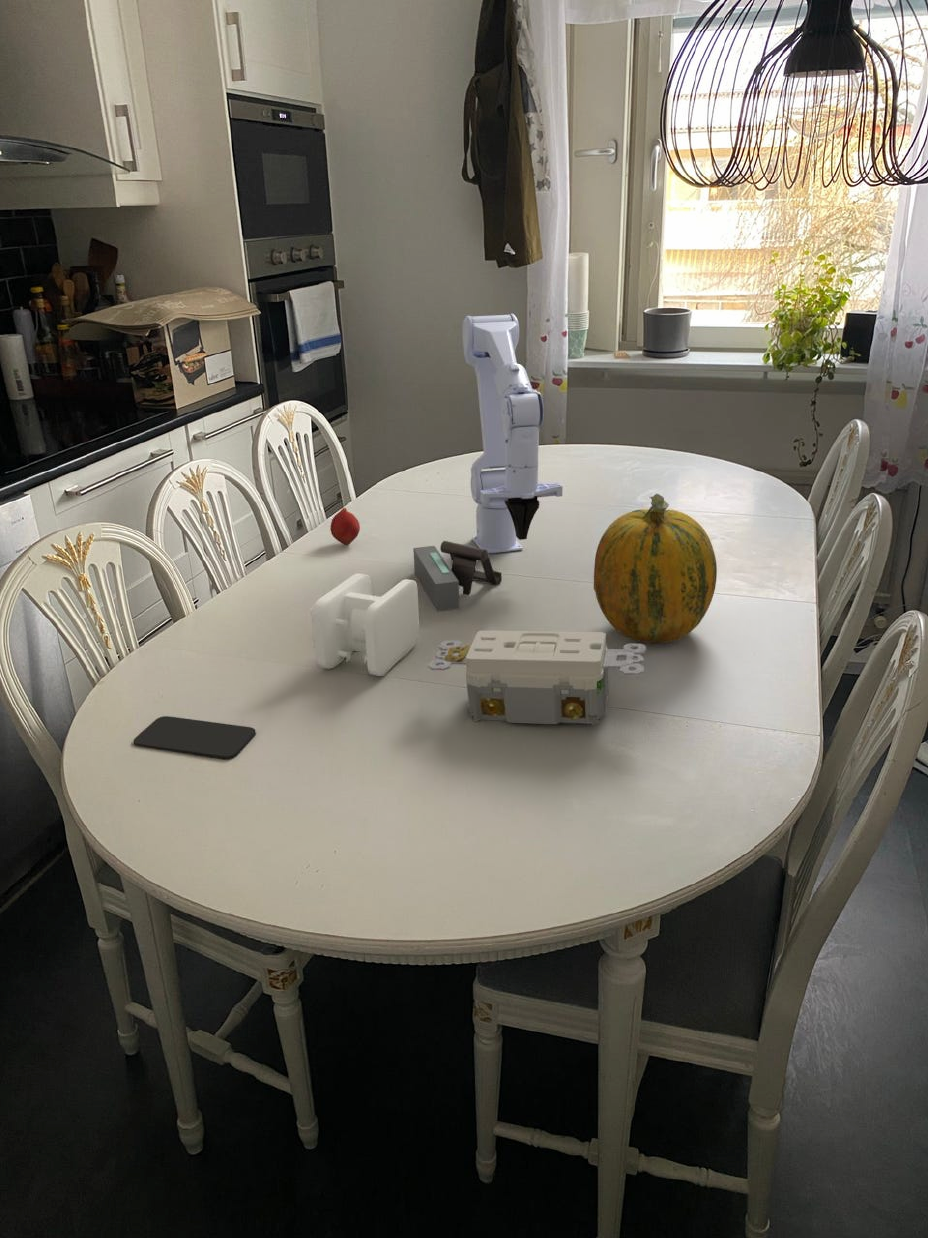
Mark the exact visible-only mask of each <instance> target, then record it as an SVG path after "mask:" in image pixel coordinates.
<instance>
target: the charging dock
mask: <svg viewBox="0 0 928 1238" xmlns="http://www.w3.org/2000/svg"><path fill="white" fill-rule="evenodd" d="M412 551H413V567H414V568H413V571H414V575H415V577H416V578H417V580H418V582H419V584H420V585H421V587H422V589H423V590H424V592H425V594H426V595H427V597H428V598H429V601H430V602H431V604H432V605H433V606H432V607H435V608H434V609H435V611H436V612H440V611H449V610H458V609H460V586H459V581H458V580H457V578H456V577H455V575H454V574H453V572H452V571H451V568H450V566H449V564H448V563H447V562H446V560H445V558H444V557H443V556H442V555H441V553H440V551H439V550H438V549H437V547H436V546H435V545H428V546H421V547H420V546H419V547H413V550H412Z"/></svg>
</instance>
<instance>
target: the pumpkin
mask: <svg viewBox="0 0 928 1238" xmlns="http://www.w3.org/2000/svg"><path fill="white" fill-rule="evenodd" d="M649 498H650V499H651V502H650V505H651V506H650V507H649V508H642V509H637V510H631V511H632V512H630V511H629V512H627V513H625V514H622V515H621V516H619V517H618V518H616V519H615V520H614V521H613V522H611V524H610V525H609V526H608V527H607V528H606V530H605V531H604V533H603V534H602V536H601V538H600V540H599V543H598V545H597V548H596V552H595V557H594V566H593V567H594V569H593V589H594V592H595V597H596V600H597V603H598V606H599V608H600V610H601V612H602V614H603V616H604V617H605V618H606V620H607V622H608V623H609V624H610V625H611V626H612V627H613V629H615V630H616V631H617V632H619V633H620V635H623V636H624V637H626V638H628V639H631V640H633V641H637V642H643V643H649V644H651V643H653V644H665V643H666V644H667V643H670V642H674V641H677V640H679V639H681V638H684V637H685V636H687V635H689V634H690V633H691V632H692V631H693V630H695V629H696V628H697V626H699V624H700V623H701V622H702V621H703V619H704V617H705V616H706V614H707V611H708V610H709V608H710V606H711V602H712V600H713V598H714V594H715V592H716V591H715V590H716V585H717V574H718V569H717V567H718V566H717V565H718V564H717V558H716V554H715V551H714V547H713V544H712V541H711V540H710V537H709V535H708V533H707V532H706V531H705V529H704V528H703V526H701V524H700V523H698V522H697V521H696V520H695V519H694V518H693V517H692V516H690V515H688V514H686V513H684V512H683V511H679V510H675V509H668V507H669V506H670V504H669V503H668V502H667V501H665V498H664V496H662V495H661V494H659V493H655V494H654V495H653V496H649Z"/></svg>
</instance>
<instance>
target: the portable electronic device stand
mask: <svg viewBox="0 0 928 1238" xmlns="http://www.w3.org/2000/svg"><path fill="white" fill-rule="evenodd" d="M440 552H441V553H443V554H448V555H450V558H451V561H452V564H451V568H450V569H451V571H452V572H453V574H454V575H455V577H456V578H457V580H458V581H459V587H462V595H465V596H469V595H470V594H471V590H472V586H473V581H474V580H475V581H479V582H483V583H487V584H490V585H495V586H500V585H501V583H502V577H503V575H502V572H500V571H497V570H494V569H493V565H492V562H491V558H490V556H489V554H488V552H487V550H485V549H481V548H479V547H475V546H471V545H465V544H461V543H456V542H452V541H448V540H444V541H443V540H442V542H441V543H440ZM477 561H478V562H480V563H481V566H482V569H483V571H480V570H476V569H477V568H476V566H477Z"/></svg>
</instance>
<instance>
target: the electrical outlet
mask: <svg viewBox="0 0 928 1238" xmlns="http://www.w3.org/2000/svg"><path fill="white" fill-rule="evenodd" d="M438 649H440V651H437V652H436V654H435V658H437V659H434V660H431V661H430V662H429V664H428V669H430V670H432V671H446V670H448V669H450V668H451V666H452V665H463V666H464V665H465V666H466V668H465V681H466V690H467V700H468V701H467V702H468V708H469V712H470V715H471V716H472V717H473V721H475V722H478V721H479V720H485V721H507V722H508V723H509V724H510V723H513V724H514V723H518V724H538V725H539V724H540V725H541V724H542V725H557V724H559V723H562V724H563V723H566V724H567V723H568V724H570V723H571V724H590V725H594V724H595V723H598V722H599V719H602V718H603V717H604V716H605V715H606V713H607V706H608V698H609V669H620V670H619V671H620V673H621V674H623V675H625V676H639V675H641V674H644V669H645V667H644V665H642V664H640V663H642V662H643V661H644V656H643V655H642V654H644V653H646V651H647V650H646V649H647V646H646V645H645V644H642V643H627V644H624V645H623V649H622V648H621V649H620V648H618V649H617V648H616V649H614V648H608V646H607V633H605V632H603V631H596V632H595V631H541V630H540V631H539V630H538V631H537V630H536V631H534V630H533V631H532V630H525V631H523V630H479V631H477V632H476V634H475V637H474V638H473V641H472V643H471V645H470V644H469V643H468V644H465V645H463V646H462V642H461V641H459V640H449V639H447V640H443V641H441V642H440V644H439V645H438ZM453 654H458V655H457V656H454V655H453ZM619 657H624V658H626V659H625V660H618V658H619ZM631 669H632V670H631Z"/></svg>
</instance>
